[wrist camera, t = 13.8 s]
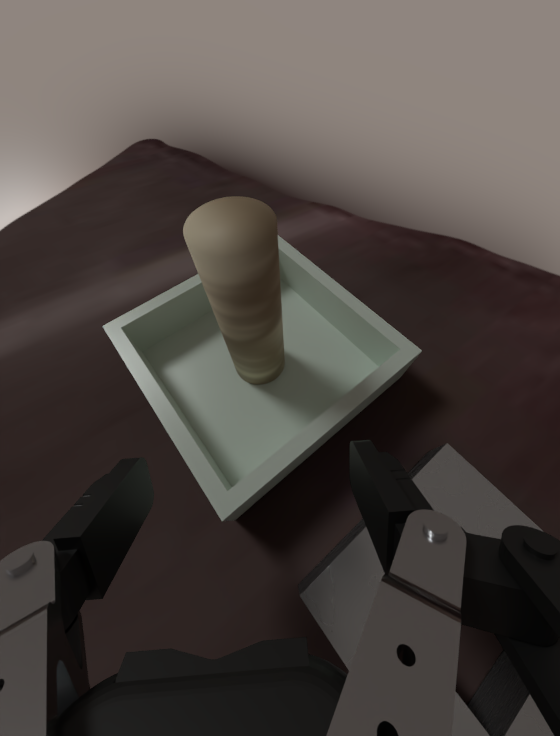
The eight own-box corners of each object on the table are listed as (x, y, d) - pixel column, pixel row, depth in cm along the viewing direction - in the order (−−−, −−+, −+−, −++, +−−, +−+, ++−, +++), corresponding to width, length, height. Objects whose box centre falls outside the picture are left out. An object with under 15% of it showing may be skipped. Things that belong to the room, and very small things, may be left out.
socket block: (485, 866, 12) (532, 949, 9) (298, 584, 16) (299, 595, 14) (615, 630, 15) (672, 649, 13) (429, 451, 19) (447, 442, 17)
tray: (235, 520, 18) (222, 521, 14) (129, 354, 24) (102, 326, 20) (400, 377, 22) (422, 350, 19) (276, 267, 28) (274, 232, 25)
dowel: (254, 394, 21) (215, 272, 11) (225, 359, 23) (166, 222, 12) (294, 364, 22) (296, 226, 12) (264, 333, 24) (241, 186, 13)
